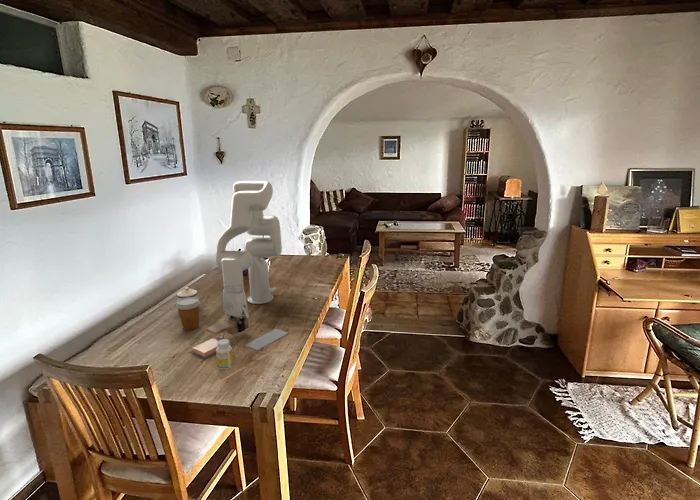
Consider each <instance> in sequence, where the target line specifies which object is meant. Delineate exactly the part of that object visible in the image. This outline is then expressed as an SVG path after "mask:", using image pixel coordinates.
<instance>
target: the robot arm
mask: <svg viewBox="0 0 700 500" xmlns="http://www.w3.org/2000/svg"><path fill="white" fill-rule="evenodd" d="M232 191H233V195H232V198H231V207H230V209H231V210H230V219H229V226H228V227H227V228H226V229H225V230H224V231H223V232H222V233H221V235H220V237H219V238H218V240H217V243H216V248H215V249H216V250H215V264H216V268H218V269H220V270H221V271H222V282H223V290H222V309H223V310H222V311H223V313H224V314H226V316H227V318H228V319H227V320H229V319H231V318H234V317H237V319H238V323H237V324H238V332H239V333H243V332H244V331H245V330H246V329H245V321H246V319H248V320H249V318H250V315H249V313H248V312H249V311H248V303H249V304H251V305H252V304H253V305H261V304H262V305H263V304H267V303H270V302H272V301H273V299H274V296H273V294H272V293H275V292H276V291H277V287H273V288H271V287H270V277H269V276H270V275H269V264H268V262H267V261H266V259H265V258H278V257H280V256H281V255H282V248H283V247H282V236H281V235H282V234H281V232H282V231H281V223H280V220H279V218H278V216H275V215H272V214H271V215H264V211H266V209H267V208H268V206H269V203H270V202H271V199H272V197H273V192H274V187H273V185H272V184H271V182H270V181H268V180H242V181H241V180H240V181H236V182H235V183H233V185H232ZM244 233H247V235H249V236H255V237H250V238H248V239H246V240H245V242H244V247H243V248H244V250H226V249H227V245H228V244H229V242H230V241H231V240H233V239H234V238H236V237H238V236H240V235H242V234H244ZM257 236H258V237H257ZM259 236H261V237H259ZM263 236H265V237H263ZM266 236H267V237H266ZM268 236H269V237H268ZM245 270H247V271H248V283H249V285H248V286H249V294H250V295H249V296H248V297H247V296H246V292H245V287H244V273H243V272H244V271H245ZM240 317H242V318H241V319H240Z"/></svg>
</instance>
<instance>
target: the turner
mask: <svg viewBox="0 0 700 500" xmlns="http://www.w3.org/2000/svg"><path fill="white" fill-rule="evenodd" d="M241 318H242V317H240V319H241ZM237 323H238V319H237V317H234V318H231V319H227V320H226V319H224V320H222V321H220V322H216V323H215V324H213V325H211V326H209V327H206V328H205V332H208V333H210V334H212V335H215V336H217V335H220V334H221V333H224V332H225V331H226V333H227V334H230V335H232V336H235V335H236V334H238V333H239V332H238V324H237ZM249 324H250V323H249V318H248V319H246V321H245V330H246V329H249V328H250V327H249Z"/></svg>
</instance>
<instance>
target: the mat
mask: <svg viewBox="0 0 700 500" xmlns="http://www.w3.org/2000/svg"><path fill="white" fill-rule="evenodd" d="M214 339H215V338H214ZM222 339H223V338H220V337H218V338H216V339H215V340H218V341H219V340H222ZM229 343H230V344H229V345H230V346H231V347H232V348H233V347H234V346H236V344H235V343H233V342H231V341H229ZM188 354H191V355H193V356H195V357H197V358H199V359H202V360H203V361H207V360H208V359H210V358H212V357H214V356H216V352H215V353H213V354H211V355H209V356H207V357H202V356H200V355H198V354H196V353H194V352H193V349H192V350H190V351H189V352H188Z"/></svg>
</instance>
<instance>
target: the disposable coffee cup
mask: <svg viewBox="0 0 700 500" xmlns="http://www.w3.org/2000/svg"><path fill="white" fill-rule="evenodd" d="M200 304H201V301H200V300H199V297H198V298H196V297H187V298H182V299H180V300H178V299H177V301H176V305H175V306H176V308H177V311H178V315H179V318H180V322H181V326H182V329H183V330H184V331H191V330H196V329H197V328H199V327H200V326H199V324H200V323H199V322H200V320H199V319H200Z"/></svg>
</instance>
